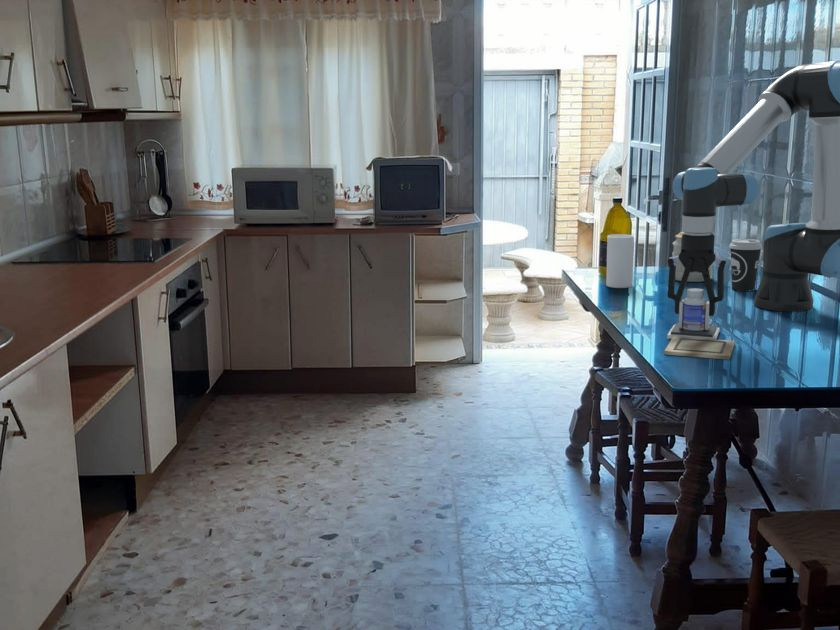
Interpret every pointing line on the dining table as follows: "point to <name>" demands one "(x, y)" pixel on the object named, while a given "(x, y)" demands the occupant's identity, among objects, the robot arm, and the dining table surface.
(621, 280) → the cup
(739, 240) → the coffee cup
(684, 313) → the pill bottle
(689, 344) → the marked board
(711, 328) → the ink pad
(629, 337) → the dining table surface
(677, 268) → the jar
